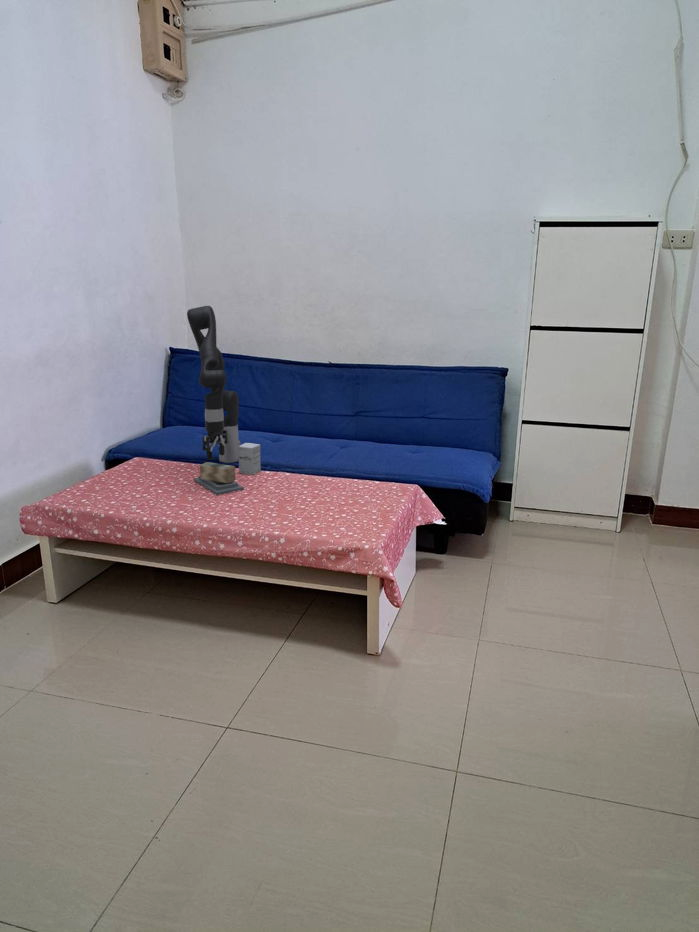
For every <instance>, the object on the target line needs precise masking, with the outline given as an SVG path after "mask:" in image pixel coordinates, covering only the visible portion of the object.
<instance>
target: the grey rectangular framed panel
mask: <svg viewBox="0 0 699 932" xmlns="http://www.w3.org/2000/svg"><path fill="white" fill-rule="evenodd" d="M194 481H195V482H194ZM193 482H194V483H196V484H197V483H198V484H197V485H199V484H200V485H199V486H201V487H202V486H203V487H202V488H204V487H205V488H204V489H206V490H207V489H208V490H207V491H209V490H210V491H211V492H210V491H209V492H210V493H212V492H213V493H212V494H214V495H215V494H216V495H215V496H220V495H219V494H222V495H225V494H224V493H226V494H230V493H229V492H231V493H234V492H233V491H236V492H239V491H238V490H241V491H244V490H243V489H244V487H243V486H242V485H241V484H239V483H238V482H237V481H236V480H235V481H233V482H231V483H223V482H217V481H211V480H204V479H200V475H198V477H195V478H193Z"/></svg>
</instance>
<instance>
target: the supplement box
mask: <svg viewBox="0 0 699 932" xmlns="http://www.w3.org/2000/svg"><path fill="white" fill-rule="evenodd" d="M238 452H239V460H238V473H239V474H244V475H251V476H254V475H256V474H258V473H260V472H261V471H262V470H261V464H262V463H261V444H259V443H258V444H257V443H253V442H252V443H251V442H244V443H242V444H240V446H238ZM257 472H258V473H257ZM255 473H256V474H255Z"/></svg>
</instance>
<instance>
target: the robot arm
mask: <svg viewBox="0 0 699 932" xmlns="http://www.w3.org/2000/svg"><path fill="white" fill-rule="evenodd" d="M186 317H187V321H188V324H189V327H190V330H191V332H192V335H193V337H194V340H195V343H196V345H197V349H198V352H199V357H200V363H201V368H200V373H199V379H198V382H199V384H200V386H201V387H202V388H204V389H209V390H210V393H207V394H205V396H204V424H205V425H204V427H205V429H204V430H205V431H206V432H207V435H203V436H202V451H205V452H206V459H207V461H212V460H213V449H214V447H215V446H216V445H217V444H218V455H219V456H218V459H219V462H220V463H227V464H228V463H229V464H230V463H236V462H239V452H238V446H240V445H241V440H239V424H238V423H239V422H238V421H239V414H240V413H239V412H240V411H239V407H240V404H239V403H240V402H239V401H240V400H239V394H238V393H237V392H236V391H234V390H225V386H226V383H227V375H226V372H225V367H226V366H225V365H226V364H225V361H224V357H223V354H222V352H221V350H220V349H219V348H218V347H217V321H216V315H215V311H214V309H213V307H212V306H211V305H204V306H198V307H195V308H194V307H193V308H190V309H187V312H186ZM206 329H207V332H206V335H205V336H204V334H203V331H204V330H206ZM202 330H203V331H202ZM224 411H225V412H226V416H225V415H224Z"/></svg>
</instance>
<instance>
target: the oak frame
mask: <svg viewBox="0 0 699 932" xmlns="http://www.w3.org/2000/svg"><path fill="white" fill-rule="evenodd" d="M199 476H200V479H204V480H211V481H217V482H223V483H231V482H233V481H235V482H236V466H234V465H227V464H222V463H217V462H215V463H214V462H208V461H206V462H204V463H202V464H199Z"/></svg>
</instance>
